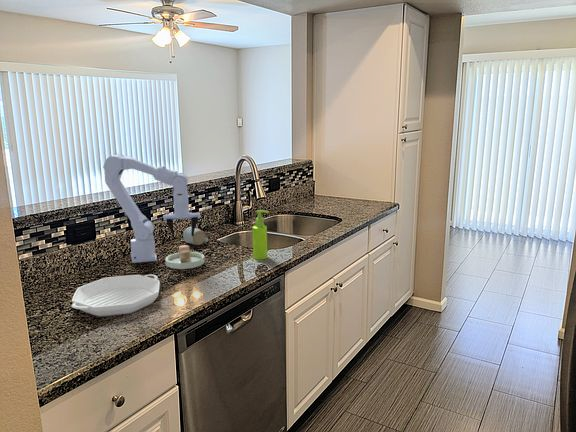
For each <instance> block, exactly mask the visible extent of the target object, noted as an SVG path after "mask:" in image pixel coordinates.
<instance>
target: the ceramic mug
mask: <svg viewBox="0 0 576 432" xmlns="http://www.w3.org/2000/svg"><path fill="white" fill-rule="evenodd" d="M182 238H183V241H184V242H186V243H188V244H192V245H193V246H201V245H202V244H204V242H206V243H208V241H209V238H207V237H206V234H205V232H204V230H201V229H200V228H197V227H195V230H194V236H192V235H191V226H188V227H186V228H185V229H184V231H183V235H182Z"/></svg>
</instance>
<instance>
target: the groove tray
mask: <svg viewBox="0 0 576 432" xmlns="http://www.w3.org/2000/svg"><path fill="white" fill-rule="evenodd" d="M190 252H191V262H187V263H181V261H180V256H179V252H176V253H171V254H169V255H167V256H166V257H165V266H166V267H167V268H170V269H175V270H187V269H188V270H189V269H194V268H196V267H201V266H202V265H203V264H205V255H204V253H200V252H198V251H197V252H196V251H190Z"/></svg>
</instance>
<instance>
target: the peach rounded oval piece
mask: <svg viewBox="0 0 576 432" xmlns="http://www.w3.org/2000/svg"><path fill="white" fill-rule="evenodd" d="M178 251H179V252H178V253H179V256H180V252H181V251H190V245H187V244H186V245H185V244H184V245H183V244H182V245H180V246H179V247H178Z"/></svg>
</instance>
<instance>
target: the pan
mask: <svg viewBox="0 0 576 432" xmlns="http://www.w3.org/2000/svg"><path fill="white" fill-rule="evenodd" d="M153 277H154V278H153ZM160 283H161V282H160V280H159V277H158V276H157V275H155V274H145V275H141V274H128V275H118V276H109V277H103V278H100V279H98V280H94V281H92V282H89V283H87V284H84V285H82V286H78V287H77V289H76V290H75V292H74V294H73V297H72V299H71V302H72V304H71V306H70V307H71V308H73V309H74V310H75V309H76V310H79V311H81V312H84V313H86V314H89V315H93V316H95V317H103V318H104V317H111V316H122V314H123V315H129V314H133V313H135V312H137V311H140V310H142V309H145V307H148V306H150V305H152V304H154V302H155V301H156V299H157V298H158V297H159V292H160V285H161V284H160Z"/></svg>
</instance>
